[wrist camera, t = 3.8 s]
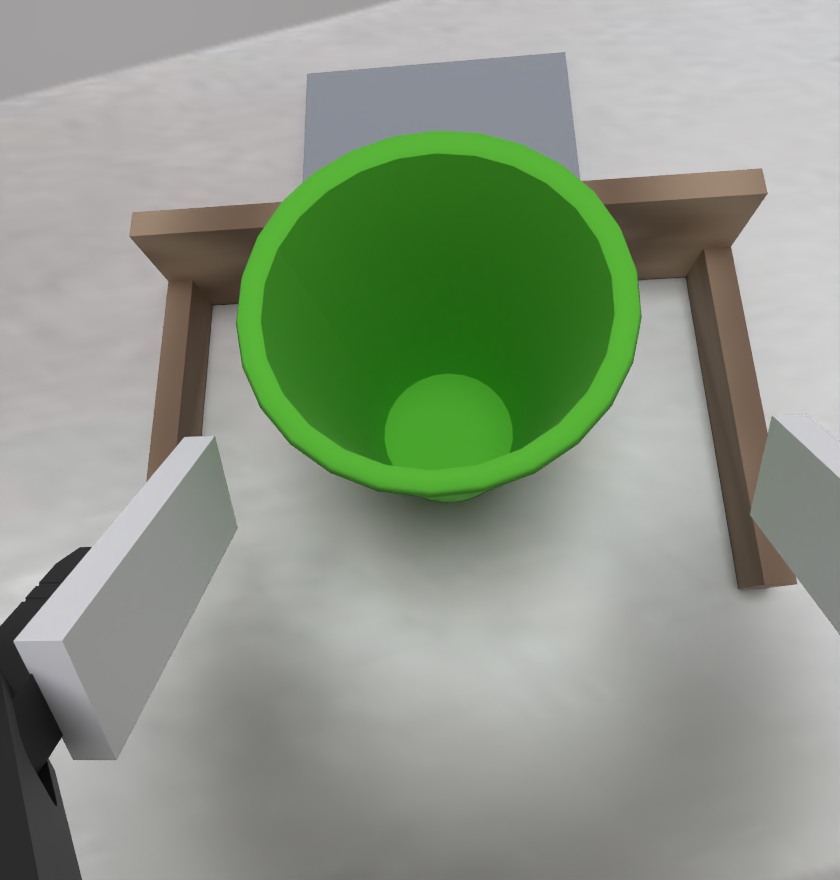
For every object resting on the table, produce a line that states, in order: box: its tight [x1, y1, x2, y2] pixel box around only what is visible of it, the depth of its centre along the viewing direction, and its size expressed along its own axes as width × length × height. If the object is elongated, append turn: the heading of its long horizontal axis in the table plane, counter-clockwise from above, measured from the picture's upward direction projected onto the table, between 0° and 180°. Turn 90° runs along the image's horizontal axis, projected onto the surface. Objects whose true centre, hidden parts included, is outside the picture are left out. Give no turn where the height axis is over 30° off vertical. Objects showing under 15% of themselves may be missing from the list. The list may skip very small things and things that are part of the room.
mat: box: [303, 52, 580, 182], centre depth 27 cm, size 12×10×1 cm
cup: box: [236, 131, 642, 502], centre depth 19 cm, size 9×9×11 cm
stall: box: [129, 169, 797, 589], centre depth 22 cm, size 22×14×5 cm, turn 91°
